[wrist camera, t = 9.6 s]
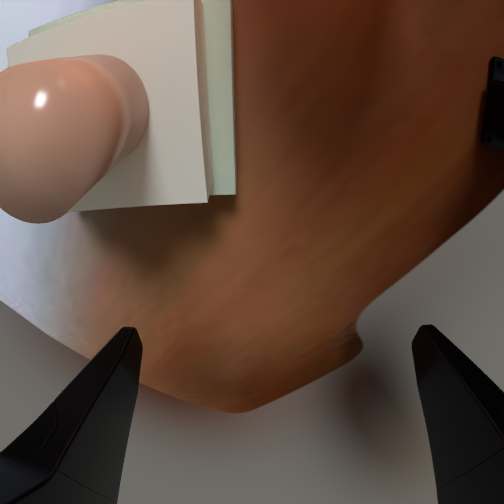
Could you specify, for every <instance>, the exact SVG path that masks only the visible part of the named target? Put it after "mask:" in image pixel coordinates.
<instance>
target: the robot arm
mask: <svg viewBox="0 0 504 504" xmlns="http://www.w3.org/2000/svg"><path fill="white" fill-rule="evenodd" d="M497 62H498V66H497ZM487 137H488V140H487ZM481 141H482V142H483V143H484V144H485V145H487V146H490V147H494V148H499V149H503V150H504V59H502V58H500V57H495V56H494V57H492V59H491V66H490V78H489V87H488V96H487V104H486V111H485V117H484V123H483V129H482V135H481ZM142 351H143V347H142V342H141V340H140V337H139V334H138V331H137V329H136V328H134V327H123V328H121V329H120V330H119V331H118V332H117V333H116V334H115V335H114V336H113V338H112V339H111V340H110V341H109V342H108V343H107V344H106V345H105V346H104V347H103V348H102V349H101V350H100V351H99V352H98V353H97V354H96V355H95V356H94V358H93V359H92V360H91V361H90V362H89V363H88V364H87V365H86V366H85V367H84V368H83V369H82V370H81V372H80V373H79V374H78V375H77V376H76V377H75V378H74V379H73V380H72V381H71V382H70V383H69V384H68V386H67V387H66V388H65V389H64V390H63V391H62V392H61V393H60V394H59V395H58V397H57V398H56V399H55V400H54V402H52V403H51V404H50V405H49V406H48V408H47V409H46V410H45V411H44V412H43V413H42V414H41V415H40V416H39V417H38V418H37V419H36V420H35V421H34V422H33V423H32V424H31V425H30V426H29V427H28V428H27V429H26V430H25V431H24V432H23V433H21V435H19V436H18V437H17V438H16V439H15V440H14V441H13V442H12V443H11V444H9V445H8V446H7V447H6V448H5V449H4V450H3V451H1V452H0V504H117V500H118V494H119V487H120V481H121V474H122V469H123V463H124V458H125V452H126V447H127V442H128V437H129V431H130V427H131V422H132V417H133V412H134V408H135V403H136V398H137V393H138V385H139V376H140V367H141V359H142ZM412 353H413V359H414V366H415V372H416V379H417V386H418V391H419V395H420V399H421V403H422V408H423V413H424V417H425V422H426V427H427V432H428V437H429V443H430V449H431V454H432V461H433V467H434V473H435V481H436V488H437V498H438V504H504V392H503V391H502V390H501V389H499V387H498V386H497V385H496V384H495V383H494V382H493V381H492V380H491V379H490V378H489V377H488V376H487V375H486V374H484V372H483V371H482V370H481V369H480V368H478V367H477V365H475V364H474V363H473V362H472V361H471V360H470V359H469V358H468V357H467V356H466V355H465V354H464V353H463V352H462V351H461V350H460V349H458V348H457V347H456V346H455V345H454V344H453V343H452V342H451V341H450V340H449V339H448V338H447V337H446V336H444V335H443V334H442V333H441V332H440V331H439V330H438V329H437V328H436V327H435V326H433V325H422V326H421V327H420V328H419V330H418V332H417V333H416V335H415V337H414V339H413V341H412Z"/></svg>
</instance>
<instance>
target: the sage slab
mask: <svg viewBox="0 0 504 504" xmlns="http://www.w3.org/2000/svg"><path fill="white" fill-rule="evenodd" d="M140 1H145V0H120V1H116V2H112V3H108V4H104V5H101V6H97V7H94V8H90V9H87V10H84V11H81V12H78V13H75V14H72V15H69V16H66V17H63V18H60V19H58V20H55V21H52V22H50V23H47V24H45V25H42V26H40V27H37V28H35V29H32V30H30V31H29V37H31V36H34V35H36V34H38V33H41V32H43V31H45V30H48V29H50V28H53V27H56V26H58V25H61V24H64V23H66V22H69V21H72V20H75V19H78V18H81V17H84V16H87V15H90V14H94V13H97V12H100V11H104V10H107V9H111V8H115V7H119V6H123V5H127V4H131V3H136V2H140ZM201 2H202V3H203V4H204V22H205V45H206V65H207V83H208V99H209V115H210V130H211V144H212V157H213V170H214V179H213V183H212V187H211V191H210V195H236V184H237V162H236V129H235V93H234V51H233V0H201Z"/></svg>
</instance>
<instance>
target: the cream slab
mask: <svg viewBox="0 0 504 504" xmlns="http://www.w3.org/2000/svg"><path fill="white" fill-rule="evenodd" d="M96 54H103V55H110V56H113V57H116V58H118V59H121V60H123V61H124V62H126V63H127V64H128V65H130V66H131V67H132V68H133V69H134V70H135V72H136V73H137V74H138V75H139V77H140V79H141V81H142V82H143V85H144V87H145V90H146V94H147V98H148V120H147V125H146V128H145V131H144V134H143V136H142V138H141V140H140V142H139V143H138V145H137V146H136V147H135V149H134V150H133V151H132V152H131V153H130V154H129V155H128V156H126V157H125V158H124V159H123V160H122V161H121V162H120V163H118V164H117V165H116V166H115V167H114V168H113V169H112V170H111V171H109V172H108V173H107V174H106V175H105V176H104V177H103V178H102V179H101V180H100V181H99V182H98V183H97V184H95V185H94V186H93V187H92V188H91V189H90V190H89V191H88V192H87V193H86V194H85V195H84V196H83V197H82V198H81V199H80V200H79V201H78V202H77V203H76V204H75V205H74V206H73V207H72V208H71V209H70V210H69V211H68V212H77V211H88V210H99V209H111V208H124V207H138V206H153V205H170V204H188V203H208V199H209V195H210V191H211V187H212V183H213V179H214V170H213V157H212V144H211V130H210V115H209V99H208V83H207V65H206V45H205V22H204V4H203V3H202V2H201V0H145V1H140V2H136V3H131V4H127V5H123V6H119V7H115V8H111V9H107V10H104V11H100V12H97V13H94V14H90V15H87V16H84V17H81V18H78V19H75V20H72V21H69V22H66V23H64V24H61V25H58V26H56V27H53V28H50V29H48V30H45V31H43V32H41V33H38V34H36V35H34V36H31V37H29V38H27V39H25V40H22V41H20V42H18V43H16V44H14V45H12V46H10V47H8V48H7V61H8V68H9V67H11V66H14V65H18V64H23V63H28V62H34V61H41V60H47V59H55V58H63V57H72V56H83V55H96Z"/></svg>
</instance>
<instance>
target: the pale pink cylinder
mask: <svg viewBox="0 0 504 504" xmlns="http://www.w3.org/2000/svg"><path fill="white" fill-rule="evenodd" d="M147 120H148V98H147V94H146V90H145V87H144V85H143V82H142V81H141V79H140V77H139V75H138V74H137V73H136V72H135V70H134V69H133V68H132V67H131V66H130V65H128V64H127V63H126V62H124V61H123V60H121V59H118V58H116V57H113V56H110V55H103V54H96V55H83V56H72V57H63V58H55V59H47V60H41V61H34V62H28V63H23V64H18V65H14V66H11V67H9V68H7V69H5V70H3V71H1V72H0V208H1V209H2V210H4V211H5V212H6V213H8V214H9V215H11V216H13V217H15V218H17V219H19V220H22V221H25V222H29V223H47V222H51V221H54V220H56V219H58V218H60V217H62V216H63V215H64V214H66V213H67V212H68V211H69V210H70V209H71V208H72V207H73V206H74V205H75V204H76V203H77V202H78V201H79V200H80V199H81V198H82V197H83V196H84V195H85V194H86V193H87V192H88V191H89V190H90V189H91V188H92V187H93V186H94V185H95V184H97V183H98V182H99V181H100V180H101V179H102V178H103V177H104V176H105V175H106V174H107V173H108V172H109V171H111V170H112V169H113V168H114V167H115V166H116V165H117V164H118V163H120V162H121V161H122V160H123V159H124V158H125V157H126V156H128V155H129V154H130V153H131V152H132V151H133V150H134V149H135V147H136V146H137V145H138V143H139V142H140V140H141V138H142V136H143V134H144V131H145V128H146V125H147Z"/></svg>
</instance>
